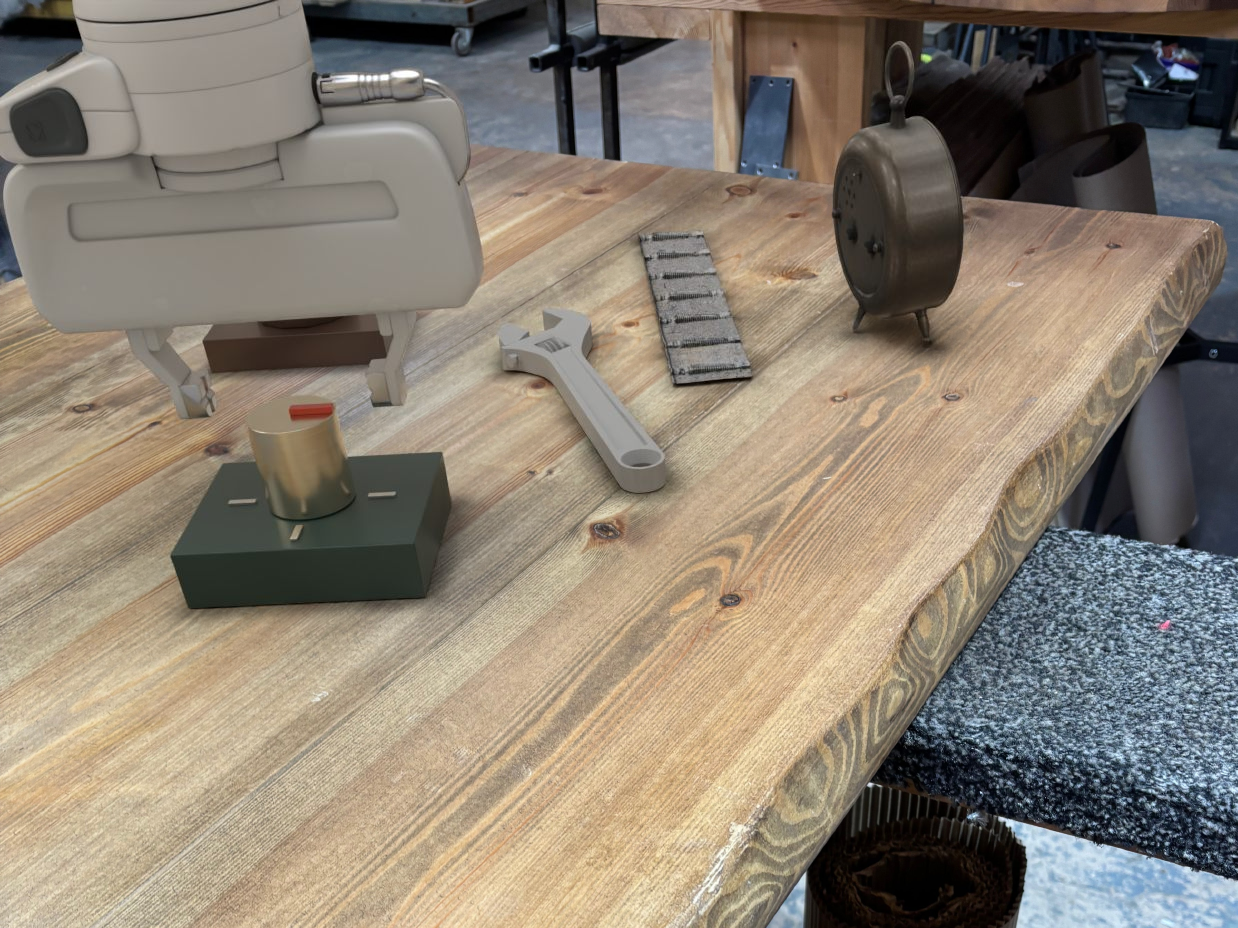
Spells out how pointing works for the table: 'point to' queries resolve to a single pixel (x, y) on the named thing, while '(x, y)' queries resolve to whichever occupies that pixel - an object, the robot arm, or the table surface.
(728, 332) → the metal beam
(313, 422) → the knob
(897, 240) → the alarm clock
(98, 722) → the table surface
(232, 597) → the panel
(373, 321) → the button box
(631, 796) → the table surface
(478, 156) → the table surface
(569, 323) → the adjustable wrench
